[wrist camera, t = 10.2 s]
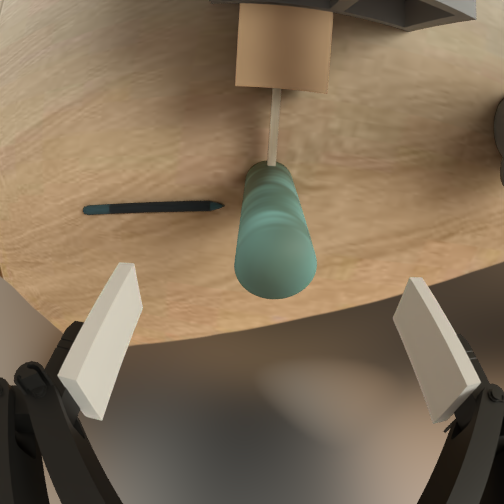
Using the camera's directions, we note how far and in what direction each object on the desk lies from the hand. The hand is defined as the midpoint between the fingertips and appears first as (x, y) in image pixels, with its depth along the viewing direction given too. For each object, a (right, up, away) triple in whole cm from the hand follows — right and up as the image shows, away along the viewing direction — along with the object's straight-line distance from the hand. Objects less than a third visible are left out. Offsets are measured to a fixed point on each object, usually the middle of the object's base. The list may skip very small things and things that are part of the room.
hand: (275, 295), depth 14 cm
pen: (-12, +7, +16) cm, 21 cm away
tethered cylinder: (+1, +14, +11) cm, 18 cm away
